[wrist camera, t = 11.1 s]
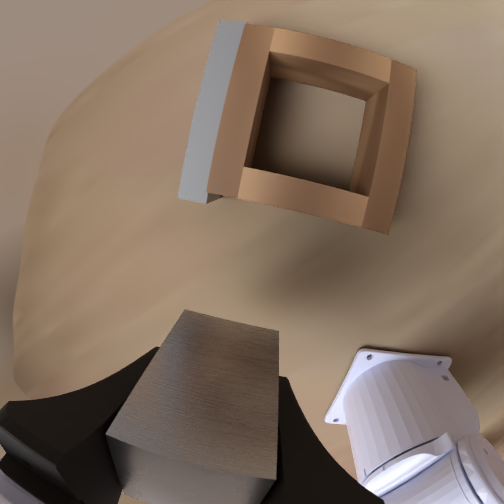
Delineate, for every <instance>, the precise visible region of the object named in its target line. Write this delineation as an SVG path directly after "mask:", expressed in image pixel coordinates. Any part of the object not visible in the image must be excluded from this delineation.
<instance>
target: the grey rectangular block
mask: <svg viewBox="0 0 504 504" xmlns="http://www.w3.org/2000/svg"><path fill="white" fill-rule="evenodd" d="M278 392H279V331H276V330H271V329H266V328H261V327H257V326H252V325H247V324H243V323H238V322H234V321H230V320H225V319H221V318H217V317H213V316H209V315H205V314H201V313H197V312H193V311H189V310H184V311H183V313H182V314H181V316H180V318H179V319H178V321H177V322H176V324H175V325H174V327H173V328H172V330H171V331H170V333H169V334H168V336H167V337H166V339H165V340H164V342H163V343H162V345H161V347H160V348H159V350H158V351H157V353H156V354H155V356H154V357H153V359H152V361H151V362H150V364H149V365H148V367H147V368H146V370H145V371H144V373H143V375H142V376H141V378H140V379H139V381H138V382H137V384H136V386H135V387H134V389H133V390H132V392H131V394H130V395H129V397H128V398H127V400H126V402H125V403H124V405H123V406H122V408H121V410H120V411H119V413H118V414H117V416H116V418H115V419H114V421H113V422H112V424H111V426H110V427H109V429H108V431H107V432H106V438H107V442H108V445H109V449H110V452H111V456H112V459H113V462H114V465H115V468H116V471H117V474H118V477H119V480H120V483H121V486H122V488H123V491H124V494H125V495H128V496H130V497H133V498H136V499H138V500H141V501H144V502H146V503H149V504H260V503H261V501H262V500H263V498H264V497H265V495H266V494H267V493H268V491H269V490H270V488H271V487H272V485H273V484H274V482H275V481H276V470H277V439H278Z"/></svg>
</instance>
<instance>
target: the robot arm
mask: <svg viewBox="0 0 504 504" xmlns="http://www.w3.org/2000/svg"><path fill="white" fill-rule="evenodd" d="M159 348H160V347H155V348H153V349H152V350H150V351H149V352H147V353H146V354H145V355H143V356H142V357H140V358H139V359H137V360H136V361H134V362H133V363H131V364H129V365H128V366H126V367H125V368H123V369H121V370H120V371H118V372H116V373H114V374H113V375H111V376H109V377H107V378H105V379H103V380H101V381H99V382H97V383H95V384H92V385H90V386H87V387H85V388H82V389H80V390H76V391H73V392H70V393H66V394H63V395H59V396H54V397H49V398H44V399H37V400H26V401H9V402H8V403H7V404H6V405H5V406H3V408H2V409H1V410H0V444H1V446H2V447H3V448H4V450H5V451H6V454H5V456H4V457H3V458H2V459H0V504H118V501H119V498H120V495H121V492H122V489H123V488H122V486H121V483H120V480H119V477H118V474H117V471H116V468H115V465H114V462H113V459H112V456H111V452H110V449H109V445H108V442H107V438H106V432H107V431H108V429H109V427H110V426H111V424H112V422H113V421H114V419H115V418H116V416H117V414H118V413H119V411H120V410H121V408H122V406H123V405H124V403H125V402H126V400H127V398H128V397H129V395H130V394H131V392H132V390H133V389H134V387H135V386H136V384H137V382H138V381H139V379H140V378H141V376H142V375H143V373H144V371H145V370H146V368H147V367H148V365H149V364H150V362H151V361H152V359H153V357H154V356H155V354H156V353H157V351H158V350H159ZM370 354H372V355H371V356H370V357H367V356H368V355H370ZM451 363H452V359H451V358H450V357H445V356H431V355H419V354H409V353H399V352H390V351H382V350H374V349H366V348H364V349H360V350H359V351H358V352H357V354H356V356H355V358H354V360H353V363H352V365H351V367H350V369H349V371H348V373H347V375H346V377H345V379H344V381H343V383H342V385H341V387H340V389H339V391H338V393H337V395H336V397H335V399H334V401H333V403H332V405H331V407H330V409H329V410H328V412H327V414H326V416H325V422H326V423H333V424H347V429H348V434H349V438H350V443H351V448H352V453H353V457H354V462H355V468H356V473H357V478H358V482H357V481H356V480H355V479H354V478H353V477H351V476H350V475H349V474H348V473H347V472H346V471H345V470H344V469H343V468H342V467H341V466H340V465H339V464H338V463H337V462H336V461H335V460H334V458H333V457H332V456H331V455H330V454H329V453H328V451H327V450H326V449H325V447H324V446H323V445H322V443H321V442H320V441H319V439H318V438H317V436H316V435H315V433H314V432H313V430H312V428H311V427H310V425H309V423H308V421H307V420H306V418H305V416H304V414H303V412H302V410H301V408H300V406H299V404H298V402H297V400H296V398H295V395H294V393H293V391H292V388H291V385H290V383H289V380H288V379H287V377H282V376H279V392H278V439H277V470H276V481H275V482H274V484H273V485H272V487H271V488H270V490H269V491H268V493H267V494H266V495H265V497H264V498H263V500H262V501H261V503H260V504H504V462H503V460H502V458H501V457H500V455H499V454H498V453H497V451H496V450H495V448H494V447H493V446H492V445H491V444H490V442H489V441H488V440H487V439H486V438H485V437H483V436H482V435H480V434H479V430H480V424H479V417H478V413H477V411H476V409H475V407H474V406H473V404H472V403H471V401H470V400H469V398H468V397H467V395H466V394H465V392H464V391H463V390H462V388H461V387H460V385H459V384H458V382H457V381H456V380H455V378H454V377H453V376H452V374H451V373H450V371H449V370H448V369H449V367H450V365H451Z"/></svg>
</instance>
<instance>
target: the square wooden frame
mask: <svg viewBox="0 0 504 504" xmlns="http://www.w3.org/2000/svg"><path fill="white" fill-rule="evenodd" d="M416 76H417V70H416V69H414V68H411V67H409V66H407V65H405V64H402V63H400V62H397V61H395V60H392V59H390V58H387V57H385V56H382V55H379V54H376V53H374V52H371V51H368V50H365V49H362V48H359V47H356V46H352V45H349V44H346V43H342V42H339V41H335V40H331V39H328V38H324V37H320V36H315V35H311V34H306V33H302V32H297V31H291V30H286V29H280V28H274V27H267V26H260V25H251V24H245V26H244V29H243V33H242V36H241V40H240V44H239V47H238V51H237V55H236V59H235V62H234V66H233V70H232V74H231V78H230V82H229V86H228V90H227V95H226V99H225V103H224V107H223V112H222V116H221V121H220V125H219V130H218V134H217V139H216V144H215V148H214V153H213V158H212V163H211V168H210V173H209V179H208V184H207V189H206V192H207V193H212V194H217V195H222V196H227V197H232V198H237V199H242V200H247V201H252V202H256V203H261V204H266V205H270V206H275V207H279V208H284V209H288V210H293V211H297V212H301V213H305V214H310V215H314V216H318V217H322V218H326V219H330V220H334V221H338V222H342V223H346V224H350V225H354V226H358V227H361V228H365V229H369V230H373V231H376V232H380V233H384V234H387V235H388V233H389V230H390V226H391V222H392V218H393V215H394V211H395V207H396V202H397V198H398V194H399V189H400V185H401V180H402V175H403V170H404V165H405V160H406V155H407V149H408V143H409V137H410V130H411V123H412V116H413V108H414V99H415V88H416ZM271 77H274V78H280V79H285V80H290V81H295V82H299V83H304V84H308V85H312V86H316V87H320V88H324V89H328V90H332V91H335V92H339V93H342V94H346V95H349V96H352V97H355V98H359V99H362V100H365V101H366V106H365V112H364V118H363V124H362V129H361V135H360V140H359V145H358V150H357V155H356V160H355V165H354V170H353V174H352V179H351V183H350V188H349V191H346V190H342V189H338V188H335V187H331V186H327V185H323V184H319V183H315V182H311V181H307V180H303V179H299V178H294V177H290V176H286V175H281V174H277V173H272V172H267V171H262V170H258V169H253V168H251V167H252V162H253V158H254V153H255V148H256V143H257V139H258V134H259V129H260V125H261V120H262V116H263V111H264V106H265V102H266V97H267V93H268V88H269V84H270V79H271Z"/></svg>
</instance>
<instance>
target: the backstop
mask: <svg viewBox="0 0 504 504" xmlns="http://www.w3.org/2000/svg"><path fill="white" fill-rule="evenodd" d="M245 24H248V22H238V21H224V20H220V21H219V24H218V27H217V30H216V33H215V37H214V40H213V43H212V47H211V50H210V54H209V57H208V61H207V64H206V68H205V72H204V75H203V79H202V83H201V87H200V91H199V95H198V99H197V103H196V108H195V112H194V116H193V121H192V125H191V130H190V134H189V139H188V144H187V149H186V154H185V159H184V164H183V170H182V175H181V181H180V187H179V193H178V198H179V199H184V200H189V201H194V202H199V203H205V204H207V203H209V202H212V201H214V200H217V199H219V198H220V195H217V194H212V193H207V192H206V189H207V184H208V179H209V173H210V168H211V163H212V158H213V153H214V148H215V144H216V139H217V134H218V130H219V125H220V121H221V116H222V112H223V107H224V103H225V99H226V95H227V90H228V86H229V82H230V78H231V74H232V70H233V66H234V62H235V59H236V55H237V51H238V47H239V44H240V40H241V36H242V33H243V29H244V26H245Z"/></svg>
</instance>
